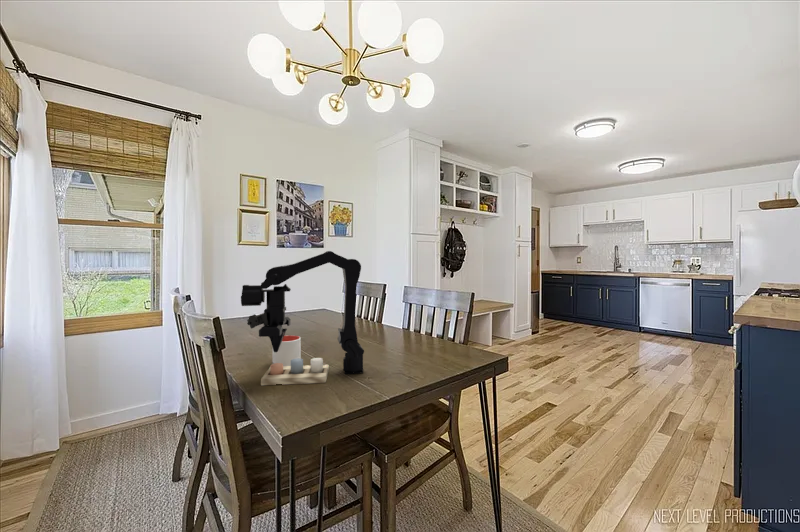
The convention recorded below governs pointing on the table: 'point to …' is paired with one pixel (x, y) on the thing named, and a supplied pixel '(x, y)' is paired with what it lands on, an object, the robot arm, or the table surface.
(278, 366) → the button terracotta
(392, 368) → the table surface
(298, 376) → the board
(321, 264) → the robot arm
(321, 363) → the button cream
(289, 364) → the cup
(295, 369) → the button slate
